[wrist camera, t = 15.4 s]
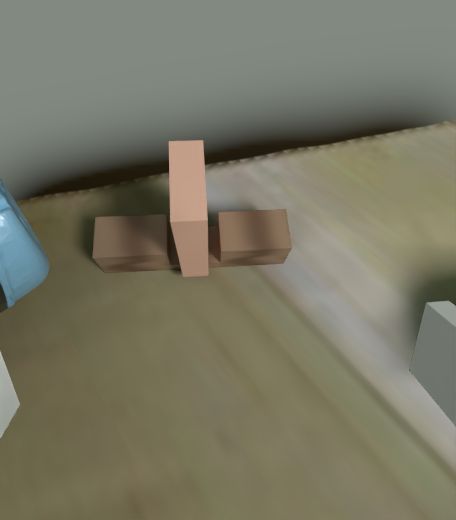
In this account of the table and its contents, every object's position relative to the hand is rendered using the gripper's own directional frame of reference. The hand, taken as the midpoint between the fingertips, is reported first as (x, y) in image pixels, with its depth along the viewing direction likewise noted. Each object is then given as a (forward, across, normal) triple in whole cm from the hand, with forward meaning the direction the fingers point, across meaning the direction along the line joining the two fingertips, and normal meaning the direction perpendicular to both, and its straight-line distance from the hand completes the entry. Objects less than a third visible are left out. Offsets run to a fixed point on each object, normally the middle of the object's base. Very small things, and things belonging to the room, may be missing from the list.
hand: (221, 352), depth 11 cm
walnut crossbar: (+32, -1, -9) cm, 33 cm away
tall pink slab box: (+31, -1, -8) cm, 32 cm away
